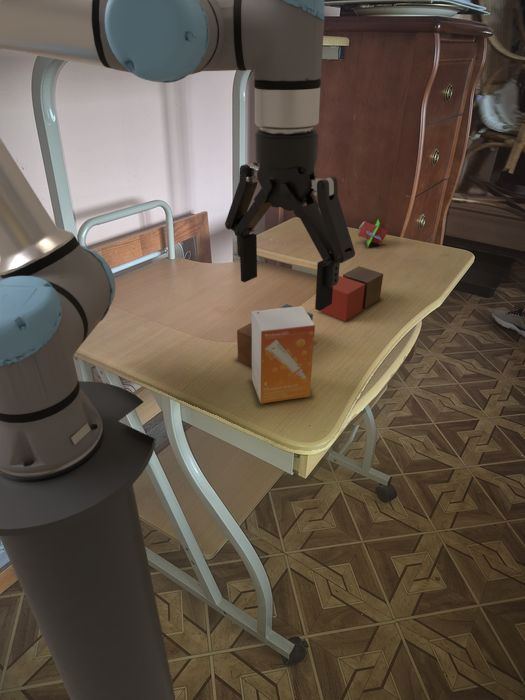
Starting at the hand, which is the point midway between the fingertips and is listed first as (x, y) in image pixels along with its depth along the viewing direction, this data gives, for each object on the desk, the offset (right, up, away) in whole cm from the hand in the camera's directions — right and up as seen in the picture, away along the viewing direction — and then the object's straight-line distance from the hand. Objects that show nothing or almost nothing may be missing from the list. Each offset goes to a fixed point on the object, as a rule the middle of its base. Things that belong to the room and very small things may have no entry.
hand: (284, 292), depth 70 cm
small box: (0, -15, +9) cm, 17 cm away
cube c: (+13, 0, +31) cm, 34 cm away
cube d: (+18, +2, +36) cm, 40 cm away
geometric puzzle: (+26, +20, +64) cm, 72 cm away
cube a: (-3, -10, +16) cm, 19 cm away
